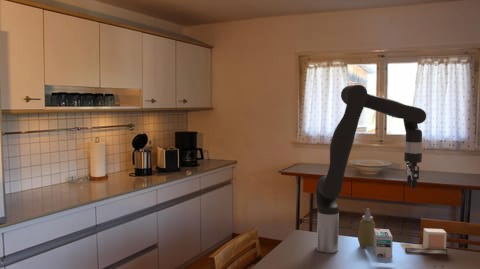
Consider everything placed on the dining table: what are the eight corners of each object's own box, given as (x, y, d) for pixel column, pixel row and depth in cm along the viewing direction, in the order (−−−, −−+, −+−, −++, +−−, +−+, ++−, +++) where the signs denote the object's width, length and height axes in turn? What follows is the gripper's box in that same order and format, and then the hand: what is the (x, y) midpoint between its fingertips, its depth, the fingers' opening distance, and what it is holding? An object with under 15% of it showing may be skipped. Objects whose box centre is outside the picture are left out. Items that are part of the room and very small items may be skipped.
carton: (422, 248, 193) (423, 228, 192) (441, 249, 192) (442, 229, 191) (426, 252, 188) (426, 231, 187) (445, 253, 186) (446, 232, 186)
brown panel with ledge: (405, 256, 187) (405, 248, 187) (399, 246, 199) (399, 239, 199) (447, 258, 185) (447, 250, 184) (438, 248, 197) (438, 241, 196)
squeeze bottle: (378, 246, 199) (379, 208, 198) (373, 251, 193) (374, 211, 191) (360, 243, 204) (361, 205, 202) (355, 248, 197) (356, 209, 196)
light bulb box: (392, 261, 181) (393, 236, 180) (375, 260, 182) (376, 235, 181) (388, 252, 191) (389, 228, 190) (373, 251, 193) (373, 227, 192)
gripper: (401, 149, 206) (400, 183, 208) (408, 153, 192) (406, 189, 194) (417, 150, 205) (416, 184, 206) (425, 153, 191) (424, 190, 192)
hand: (411, 186), depth 200 cm, fingers open, 8 cm apart
